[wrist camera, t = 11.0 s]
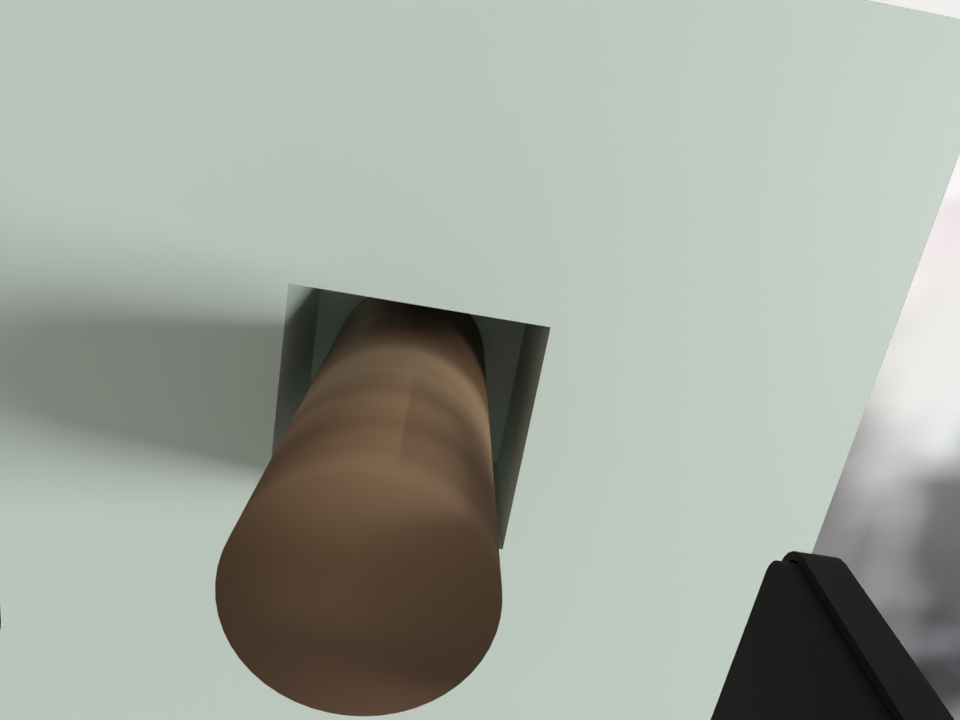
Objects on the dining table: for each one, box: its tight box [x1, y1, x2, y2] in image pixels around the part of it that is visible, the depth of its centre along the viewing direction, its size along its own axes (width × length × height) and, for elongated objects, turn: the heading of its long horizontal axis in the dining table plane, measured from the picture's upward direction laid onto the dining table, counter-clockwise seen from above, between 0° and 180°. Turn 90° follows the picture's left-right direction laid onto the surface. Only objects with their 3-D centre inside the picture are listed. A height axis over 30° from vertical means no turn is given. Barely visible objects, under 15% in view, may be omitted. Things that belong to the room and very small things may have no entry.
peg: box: [215, 297, 502, 716], centre depth 15 cm, size 4×4×10 cm
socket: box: [0, 0, 960, 720], centre depth 18 cm, size 18×18×5 cm
